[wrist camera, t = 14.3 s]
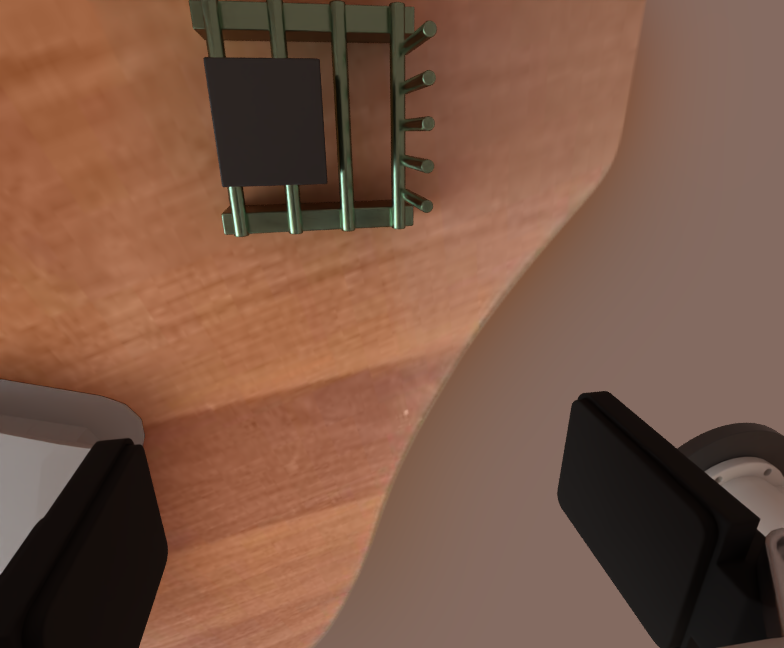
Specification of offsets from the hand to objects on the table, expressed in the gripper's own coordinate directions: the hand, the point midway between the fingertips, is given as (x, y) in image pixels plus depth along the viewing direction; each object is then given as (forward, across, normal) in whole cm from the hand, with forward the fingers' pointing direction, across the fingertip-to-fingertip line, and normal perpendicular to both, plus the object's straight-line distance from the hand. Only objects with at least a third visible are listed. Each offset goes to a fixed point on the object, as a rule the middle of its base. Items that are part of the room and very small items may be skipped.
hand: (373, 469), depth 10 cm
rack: (+22, 0, -7) cm, 23 cm away
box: (+18, +2, -7) cm, 20 cm away
